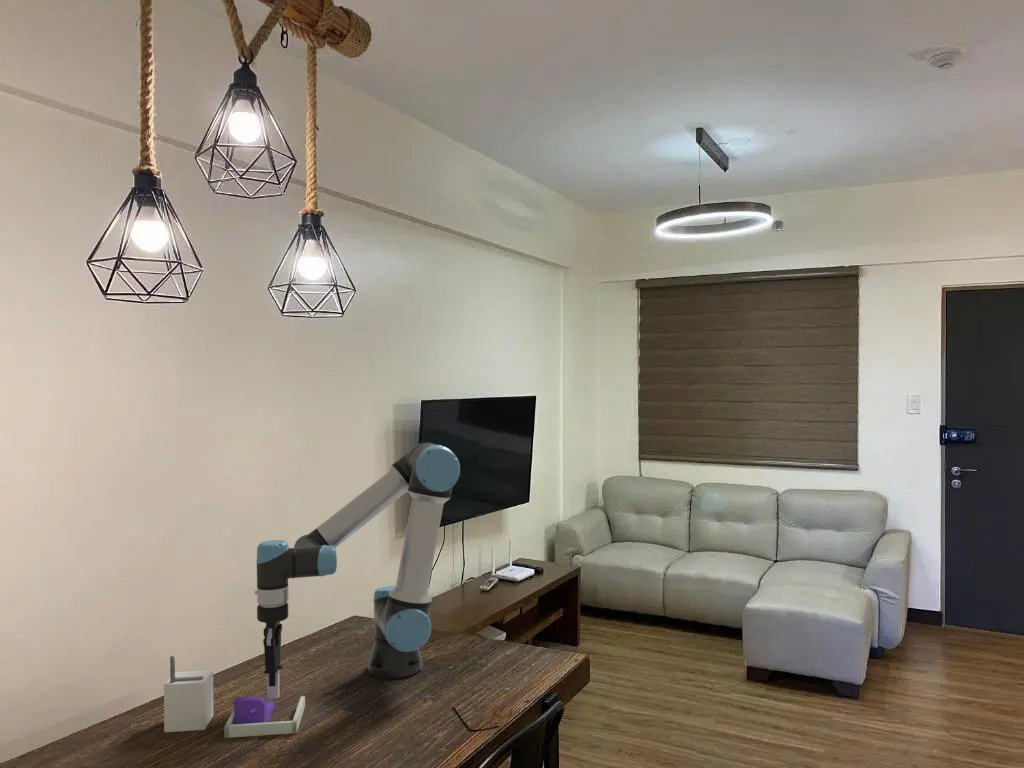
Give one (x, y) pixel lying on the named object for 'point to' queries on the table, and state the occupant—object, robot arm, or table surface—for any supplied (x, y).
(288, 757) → the table surface
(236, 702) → the bracket
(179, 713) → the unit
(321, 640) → the table surface
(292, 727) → the corral
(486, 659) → the table surface
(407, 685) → the table surface
